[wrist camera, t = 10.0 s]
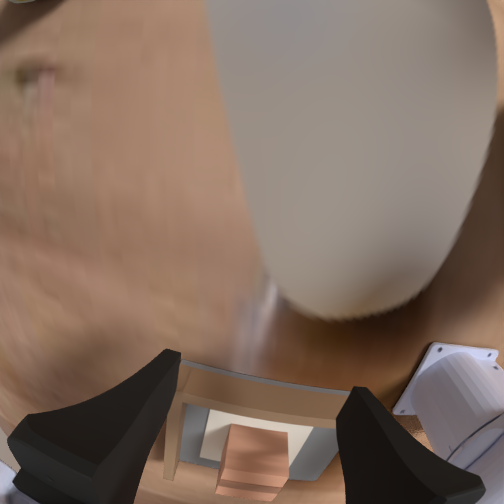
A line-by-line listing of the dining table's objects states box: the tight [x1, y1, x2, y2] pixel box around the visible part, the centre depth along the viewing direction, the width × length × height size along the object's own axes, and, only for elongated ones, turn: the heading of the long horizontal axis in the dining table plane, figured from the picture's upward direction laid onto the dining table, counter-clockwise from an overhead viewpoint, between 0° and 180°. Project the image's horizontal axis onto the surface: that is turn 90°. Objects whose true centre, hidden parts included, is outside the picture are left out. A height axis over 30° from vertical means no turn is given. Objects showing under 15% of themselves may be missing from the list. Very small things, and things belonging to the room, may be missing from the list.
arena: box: [163, 359, 351, 481], centre depth 23 cm, size 16×14×4 cm
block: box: [215, 423, 289, 501], centre depth 21 cm, size 5×5×5 cm
